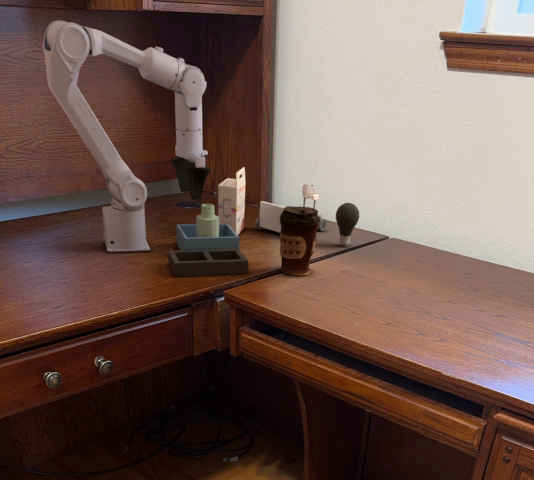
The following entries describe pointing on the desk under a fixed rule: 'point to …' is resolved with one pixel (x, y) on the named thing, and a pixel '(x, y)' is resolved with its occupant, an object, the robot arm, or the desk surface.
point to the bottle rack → (207, 262)
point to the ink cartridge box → (232, 202)
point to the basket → (206, 238)
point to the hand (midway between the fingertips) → (190, 195)
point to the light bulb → (346, 221)
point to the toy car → (272, 211)
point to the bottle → (207, 222)
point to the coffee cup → (297, 238)
